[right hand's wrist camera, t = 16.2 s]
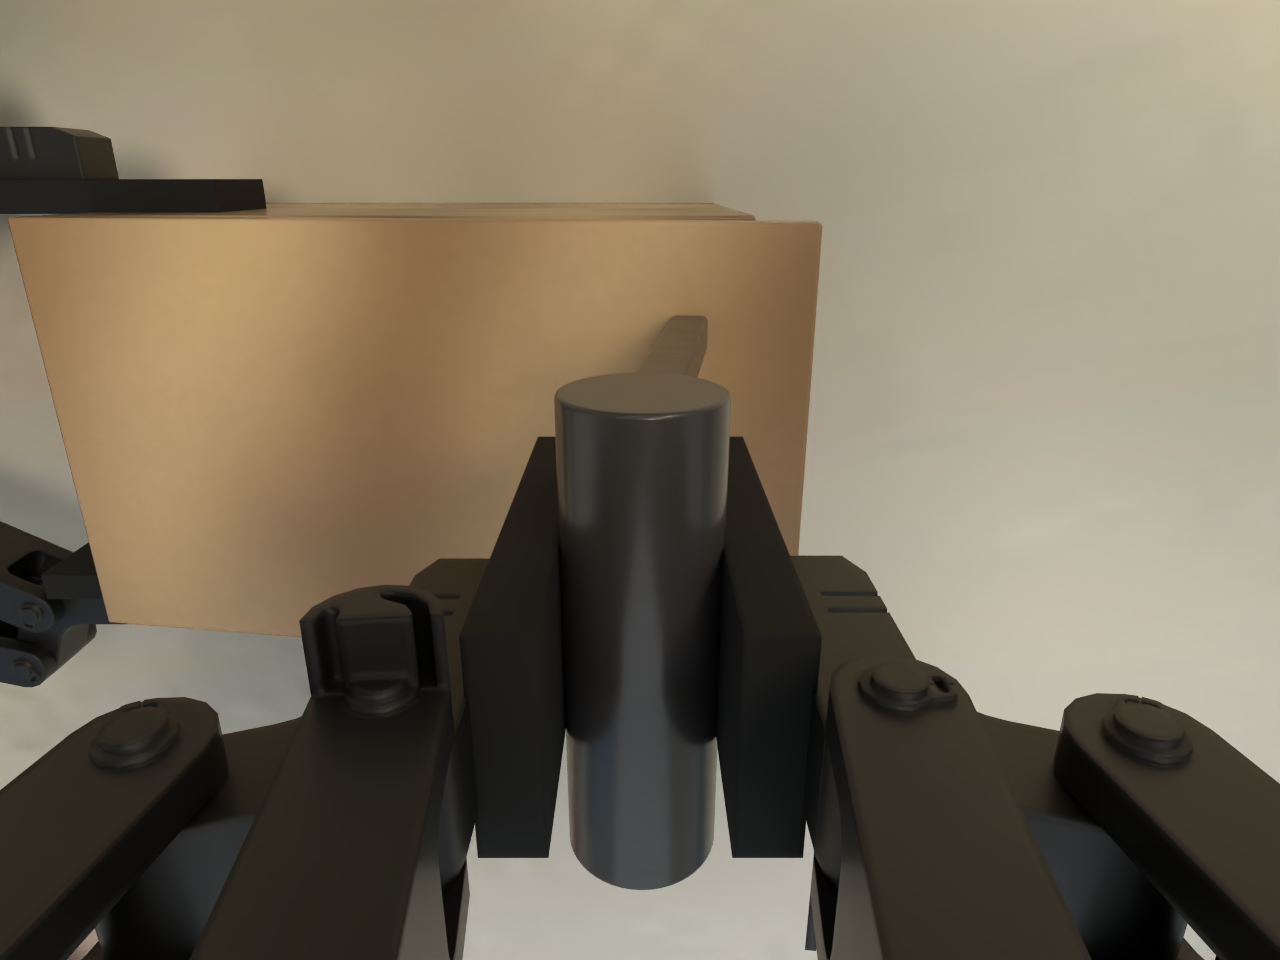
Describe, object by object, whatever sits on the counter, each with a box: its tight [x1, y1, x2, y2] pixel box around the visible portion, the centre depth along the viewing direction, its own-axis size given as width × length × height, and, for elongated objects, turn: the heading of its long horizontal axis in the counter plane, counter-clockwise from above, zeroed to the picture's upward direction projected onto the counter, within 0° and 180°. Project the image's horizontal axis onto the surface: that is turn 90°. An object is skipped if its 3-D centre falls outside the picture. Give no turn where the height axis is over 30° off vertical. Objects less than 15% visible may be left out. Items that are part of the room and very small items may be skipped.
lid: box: [8, 216, 822, 890], centre depth 14 cm, size 16×10×8 cm, turn 90°
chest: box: [43, 203, 755, 221], centre depth 24 cm, size 16×10×9 cm, turn 90°
